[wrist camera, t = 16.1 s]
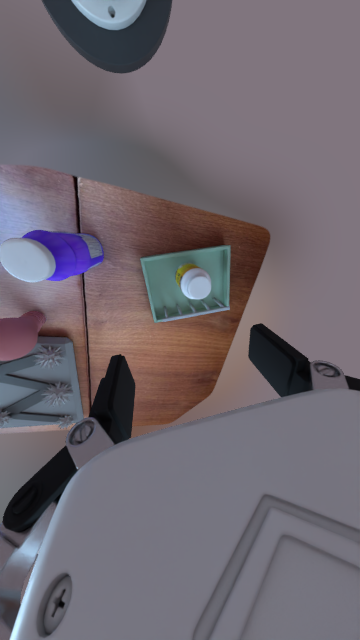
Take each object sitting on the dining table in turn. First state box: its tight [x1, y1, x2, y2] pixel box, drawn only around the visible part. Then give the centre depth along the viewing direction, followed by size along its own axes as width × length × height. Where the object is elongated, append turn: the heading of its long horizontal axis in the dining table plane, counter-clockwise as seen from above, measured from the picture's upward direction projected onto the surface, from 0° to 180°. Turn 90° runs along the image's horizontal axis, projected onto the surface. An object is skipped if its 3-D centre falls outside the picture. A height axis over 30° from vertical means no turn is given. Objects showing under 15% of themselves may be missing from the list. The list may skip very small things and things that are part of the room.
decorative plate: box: [0, 336, 84, 429], centre depth 38 cm, size 30×22×7 cm
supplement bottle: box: [175, 263, 211, 299], centre depth 31 cm, size 6×6×10 cm
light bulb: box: [0, 311, 46, 361], centre depth 29 cm, size 7×7×12 cm
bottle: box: [0, 230, 104, 282], centre depth 23 cm, size 7×6×17 cm
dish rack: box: [140, 245, 230, 323], centre depth 34 cm, size 14×18×7 cm
